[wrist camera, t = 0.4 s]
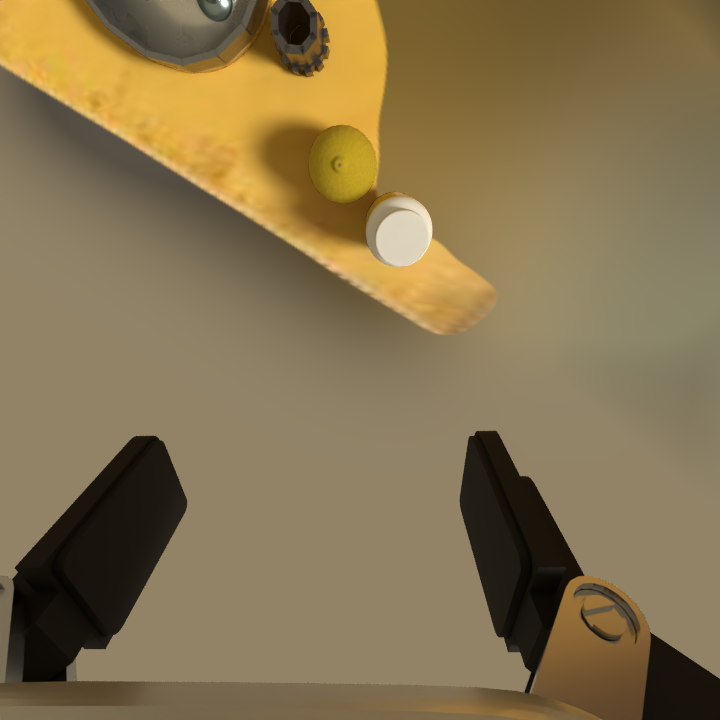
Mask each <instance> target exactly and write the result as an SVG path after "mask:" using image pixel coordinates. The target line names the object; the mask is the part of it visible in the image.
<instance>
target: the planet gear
mask: <svg viewBox="0 0 720 720" xmlns="http://www.w3.org/2000/svg"><path fill="white" fill-rule="evenodd" d="M298 25H299V26H310V35H309V36H308V37H307V38H306V40H305V41H304V42H303V43H302V45H292V44H290V35H291V34H292V33H293V31H294V30H295V29H296V28H297V26H298ZM324 25H325V24H324V20H323V18H322V16H321V15H320V13H319V12H318V13H317V11H316V10H315V9H314V7H313V6H312V4H311V3H310V1H309V0H277V1H276V2H275V3H274V5H273V6H272V7H271V34H272V36H273V38H274V39H275V41H276V42H275V43H276V48H277V51H278V52H279V53H280V55H282V54H284V56H283V57H282V58H281V59H282V61H283V62H284V63H285V65H286V66H287V67H288V69H289V68H290V67H291V66H292V67H293V68H292V71H293V72H294V74H296V75H298V76H300V77H301V73H302V71H303V72H305V74H306V75H307V77H311V76H314V75H313V72H314V70H315V69H316V68H317V69H318V70H319V72H320V71H321V70H322V69H323V67H324V65H323V63H322V61H323V60H324V59H325V58H326V59H328V56H329V52H330V51H329V48H328V46H326V45H325V43H328V42H330V40H329V35H328V31H327V28H325V29H324V28H323V27H324Z"/></svg>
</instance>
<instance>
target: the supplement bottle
mask: <svg viewBox="0 0 720 720" xmlns="http://www.w3.org/2000/svg"><path fill="white" fill-rule="evenodd" d="M431 238H432V222H431V218H430V216H429V214H428V212H427V210H426V209H425V208H424V206H423V205H422V204H421V203H419V202H418V201H416V200H415V199H413V198H411V197H410V196H408V195H406V194H404V193H399V192H390V193H386V194H384V195H382V196H380V197H378V198H377V199H376V200H375V201H374V202H373V203H372V205H371V206H370V208H369V210H368V213H367V216H366V240H367V244H368V247H369V249H370V251H371V252H372V254H373V255H374V256H375V257H376V258H377V259H378V260H379V261H381V262H382V263H384V264H386V265H389V266H396V267H399V266H400V267H403V266H408V265H411V264H413V263H415V262H416V261H418V260H419V259H420V258H421V257H422V256H423V255H424V253H425V252H426V250H427V248H428V246H429V244H430V241H431Z"/></svg>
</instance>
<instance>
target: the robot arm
mask: <svg viewBox="0 0 720 720" xmlns="http://www.w3.org/2000/svg"><path fill="white" fill-rule="evenodd" d="M460 507H461V512H462V515H463V519H464V523H465V526H466V529H467V533H468V537H469V540H470V544H471V547H472V551H473V555H474V558H475V562H476V565H477V569H478V572H479V576H480V580H481V583H482V587H483V590H484V594H485V597H486V601H487V605H488V608H489V612H490V615H491V618H492V622H493V626H494V629H495V632H496V634H497V636H498V637H504V639H505V643H506V646H507V649H508V652H520V653H521V656H522V659H523V662H524V665H525V667H526V668H527V669H528V670H529V671H530V674H529V677H528V680H527V683H526V685H525V688H524V691H523V692H518V691H509V690H499V689H488V688H477V687H475V688H474V687H450V686H449V687H448V686H422V685H379V684H318V683H316V684H315V683H237V682H236V683H235V682H104V681H101V682H100V681H92V682H91V681H90V682H89V681H77V675H76V656H77V655H78V653H79V651H80V650H81V648H82V647H83V648H84V649H106V647H107V645H108V643H109V642H110V640H111V638H112V636H113V635H115V634H116V633H118V632H119V631H120V630H121V628H122V626H123V625H124V623H125V621H126V619H127V617H128V616H129V614H130V612H131V610H132V608H133V606H134V605H135V603H136V601H137V599H138V597H139V596H140V594H141V592H142V590H143V588H144V586H145V585H146V583H147V581H148V579H149V577H150V575H151V574H152V572H153V570H154V568H155V566H156V564H157V563H158V561H159V559H160V557H161V555H162V553H163V552H164V550H165V548H166V546H167V544H168V542H169V541H170V538H171V537H172V535H173V533H174V532H175V530H176V528H177V526H178V524H179V522H180V520H181V518H182V517H183V515H184V513H185V511H186V508H187V499H186V496H185V494H184V492H183V489H182V487H181V484H180V481H179V479H178V476H177V474H176V471H175V469H174V467H173V464H172V462H171V459H170V456H169V454H168V451H167V449H166V447H165V444H164V442H163V441H160V440H159V438H158V437H156V436H136V437H133V438H132V439H131V440H130V441H129V442H128V443H127V444H126V445H125V446H124V447H123V449H122V450H121V451H120V452H119V453H118V454H117V455H116V456H115V457H114V459H113V460H112V461H111V462H110V463H109V464H108V465H107V466H106V467H105V468H104V470H103V471H102V472H101V473H100V474H99V475H98V476H97V477H96V478H95V480H94V481H93V482H92V483H91V484H90V485H89V486H88V487H87V488H86V489H85V491H84V492H83V493H82V494H81V495H80V496H79V497H78V498H77V499H76V500H75V502H74V503H73V504H72V505H71V506H70V507H69V508H68V509H67V511H66V512H65V513H64V514H63V515H62V516H61V517H60V518H59V519H58V520H57V521H56V523H55V524H54V525H53V526H52V527H51V528H50V529H49V530H48V532H47V533H46V534H45V535H44V536H43V537H42V538H41V539H40V540H39V541H38V543H37V544H36V545H35V546H34V547H33V548H32V549H31V550H30V551H29V552H28V553H27V555H26V556H25V557H24V558H23V559H22V560H21V561H20V562H19V564H18V565H17V566H16V567H15V569H16V570H17V571H18V573H17V574H16V576H15V577H14V578H13V579H10V578H9V577H7V576H0V720H720V679H719V678H718V677H716V676H715V675H713V674H712V673H710V672H709V671H707V670H706V669H704V668H703V667H701V666H700V665H698V664H697V663H695V662H694V661H692V660H691V659H689V658H688V657H686V656H685V655H683V654H682V653H680V652H679V651H677V650H676V649H675V648H673V647H671V646H670V645H669V644H667V643H666V642H664V641H663V640H661V639H660V638H658V637H657V636H655V635H654V634H652V633H651V632H650V628H649V625H648V623H647V621H646V618H645V616H644V614H643V613H642V611H641V610H640V609H639V607H638V606H637V604H636V603H635V602H634V601H633V600H632V599H631V598H630V597H629V596H628V595H627V594H626V593H625V592H623V591H622V590H621V589H619V588H618V587H616V586H615V585H613V584H612V583H609V582H607V581H605V580H603V579H601V578H597V577H593V576H584V574H583V572H582V570H581V568H580V567H579V565H578V563H577V561H576V559H575V557H574V555H573V554H572V552H571V550H570V548H569V546H568V544H567V543H566V541H565V539H564V537H563V535H562V533H561V532H560V530H559V528H558V526H557V524H556V522H555V521H554V519H553V517H552V515H551V513H550V511H549V509H548V508H547V506H546V504H545V502H544V500H543V499H542V497H541V495H540V493H539V491H538V490H537V487H536V486H535V484H534V482H533V481H532V480H531V478H529V477H526V476H520V475H519V473H518V471H517V469H516V467H515V466H514V463H513V461H512V460H511V457H510V455H509V454H508V452H507V450H506V448H505V446H504V444H503V442H502V440H501V438H500V436H499V434H498V433H497V432H496V431H476V433H475V436H470V437H469V439H468V446H467V453H466V459H465V466H464V473H463V480H462V486H461V493H460Z"/></svg>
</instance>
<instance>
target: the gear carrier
mask: <svg viewBox="0 0 720 720" xmlns="http://www.w3.org/2000/svg"><path fill="white" fill-rule="evenodd" d="M86 1H87V3H88V4H89V5H90V7H91V8H92V9H93V11H94V12H95V13H96V15H97V16H98V17H99V19H100V20H101V21H102V23H103V24H104V25H105V27H106V28H107V29H108V30H110V31H111V32H112V33H114V34H115V35H117V36H118V37H119V38H121V39H122V40H123V41H125V42H126V43H127V44H129V45H130V46H131V47H133V48H134V49H136V50H137V51H138V52H140V53H141V54H142V55H144V56H145V57H147V58H149V59H151V60H153V61H155V62H156V63H158V64H161V65H165V66H169V67H171V68H174V69H177V70H180V71H184V72H190V73H207V72H213V71H217V70H220V69H223V68H225V67H227V66H229V65H230V64H232V63H234V62H235V61H237V60H238V59H239V58H240V57H241V56H243V55H244V54H245V53H246V51H247V50H248V49H249V48H250V47H251V46H252V44H253V43H254V41H255V40H256V38H257V37H258V35H259V33H260V31H261V29H262V27H263V25H264V23H265V20H266V17H267V14H268V11H269V8H270V3H271V0H86Z"/></svg>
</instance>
